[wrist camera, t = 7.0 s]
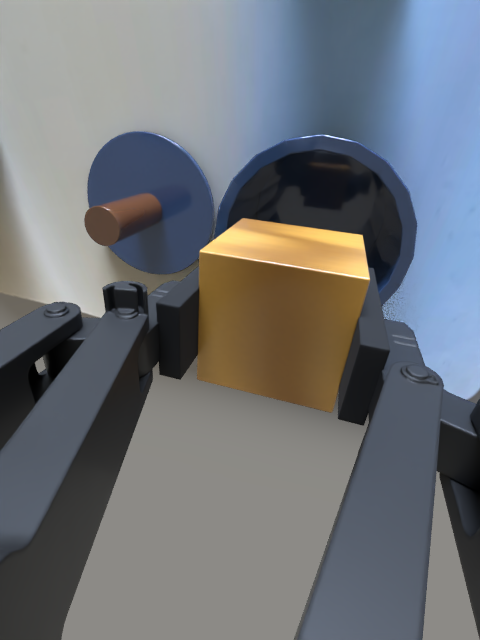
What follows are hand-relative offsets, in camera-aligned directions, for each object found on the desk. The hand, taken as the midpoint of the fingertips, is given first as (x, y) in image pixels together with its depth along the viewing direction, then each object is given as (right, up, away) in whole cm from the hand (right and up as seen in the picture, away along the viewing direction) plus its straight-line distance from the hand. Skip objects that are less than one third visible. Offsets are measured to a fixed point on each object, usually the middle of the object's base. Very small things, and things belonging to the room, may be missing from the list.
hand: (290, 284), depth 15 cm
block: (0, 0, 0) cm, 0 cm away
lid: (-11, +10, +19) cm, 24 cm away
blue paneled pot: (+5, +8, +15) cm, 18 cm away
